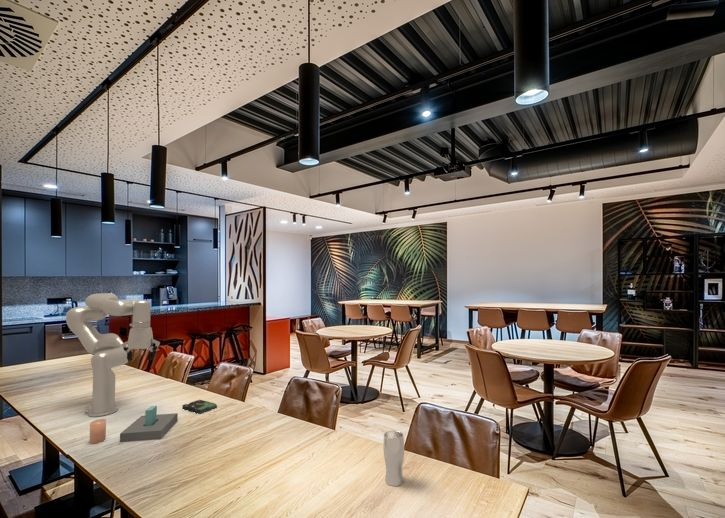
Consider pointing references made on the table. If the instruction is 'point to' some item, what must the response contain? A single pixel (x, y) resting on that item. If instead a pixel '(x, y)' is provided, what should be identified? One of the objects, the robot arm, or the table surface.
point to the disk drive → (199, 406)
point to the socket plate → (149, 428)
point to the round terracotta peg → (97, 431)
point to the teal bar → (150, 415)
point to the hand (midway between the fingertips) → (140, 360)
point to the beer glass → (394, 457)
